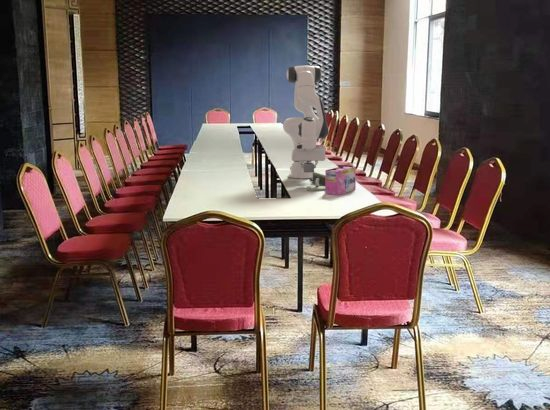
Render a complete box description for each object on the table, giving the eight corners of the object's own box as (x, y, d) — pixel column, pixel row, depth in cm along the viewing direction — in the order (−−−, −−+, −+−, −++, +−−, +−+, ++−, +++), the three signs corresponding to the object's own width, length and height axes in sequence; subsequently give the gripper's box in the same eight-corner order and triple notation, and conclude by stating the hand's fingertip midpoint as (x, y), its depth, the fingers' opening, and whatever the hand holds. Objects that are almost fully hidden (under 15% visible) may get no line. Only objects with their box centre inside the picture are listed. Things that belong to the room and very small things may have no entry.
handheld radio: (326, 188, 355) (307, 181, 377) (330, 187, 356) (312, 181, 379) (326, 176, 354) (307, 171, 376) (331, 176, 355) (312, 171, 378)
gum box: (344, 188, 354) (345, 165, 351) (356, 189, 349) (357, 166, 347) (324, 194, 335) (324, 170, 332) (336, 195, 330) (337, 171, 327)
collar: (302, 170, 361) (302, 162, 360) (312, 170, 361) (312, 162, 360) (303, 172, 355) (304, 164, 354) (314, 172, 355) (314, 164, 354)
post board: (306, 188, 352) (306, 177, 351) (333, 188, 353) (333, 177, 352) (308, 190, 344) (308, 180, 343) (335, 190, 346) (336, 179, 344)
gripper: (325, 144, 358) (324, 167, 361) (291, 144, 357) (291, 167, 360) (326, 145, 352) (326, 169, 355) (292, 146, 350) (292, 169, 354)
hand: (308, 168), depth 358 cm, fingers closed on collar, 6 cm apart
